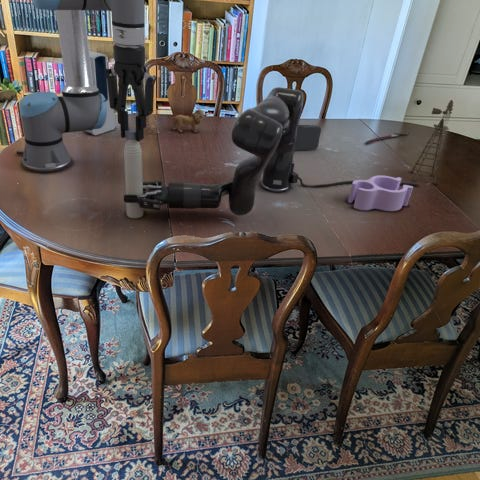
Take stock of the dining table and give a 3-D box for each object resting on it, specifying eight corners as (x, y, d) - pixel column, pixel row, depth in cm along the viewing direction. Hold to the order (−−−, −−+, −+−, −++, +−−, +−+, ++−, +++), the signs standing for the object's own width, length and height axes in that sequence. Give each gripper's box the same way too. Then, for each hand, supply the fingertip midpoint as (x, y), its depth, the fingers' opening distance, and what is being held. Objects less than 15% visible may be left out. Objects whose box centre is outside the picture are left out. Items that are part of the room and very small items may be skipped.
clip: (360, 214, 150) (365, 195, 146) (341, 196, 159) (346, 177, 156) (412, 209, 156) (418, 190, 152) (390, 192, 166) (396, 174, 162)
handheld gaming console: (315, 147, 196) (319, 124, 190) (317, 149, 194) (322, 126, 188) (264, 149, 189) (267, 125, 183) (266, 152, 187) (269, 127, 181)
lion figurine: (201, 127, 203) (202, 107, 198) (204, 132, 199) (205, 111, 194) (168, 129, 198) (168, 108, 193) (170, 133, 194) (171, 112, 189)
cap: (132, 133, 127) (132, 125, 125) (143, 137, 125) (142, 130, 124) (121, 137, 124) (121, 129, 123) (131, 141, 122) (131, 133, 121)
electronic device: (93, 136, 184) (86, 56, 167) (80, 131, 187) (72, 52, 170) (116, 128, 193) (112, 52, 177) (103, 124, 196) (97, 48, 180)
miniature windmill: (435, 184, 175) (463, 105, 159) (412, 180, 176) (438, 101, 160) (432, 174, 182) (458, 98, 166) (410, 171, 183) (434, 94, 167)
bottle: (146, 212, 139) (144, 130, 125) (138, 219, 135) (136, 135, 121) (131, 208, 140) (128, 126, 126) (123, 216, 136) (119, 132, 122)
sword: (404, 132, 223) (404, 129, 222) (409, 134, 221) (409, 132, 220) (360, 143, 207) (361, 141, 206) (365, 146, 205) (366, 143, 204)
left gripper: (89, 41, 111) (96, 136, 123) (153, 52, 107) (154, 149, 119) (107, 37, 117) (112, 127, 129) (168, 47, 113) (167, 139, 126)
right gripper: (184, 173, 140) (126, 171, 137) (185, 195, 128) (121, 194, 125) (184, 195, 144) (127, 194, 141) (184, 219, 132) (122, 218, 129)
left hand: (132, 137), depth 124 cm, fingers closed on cap, 4 cm apart
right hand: (125, 194), depth 133 cm, fingers closed on bottle, 5 cm apart
